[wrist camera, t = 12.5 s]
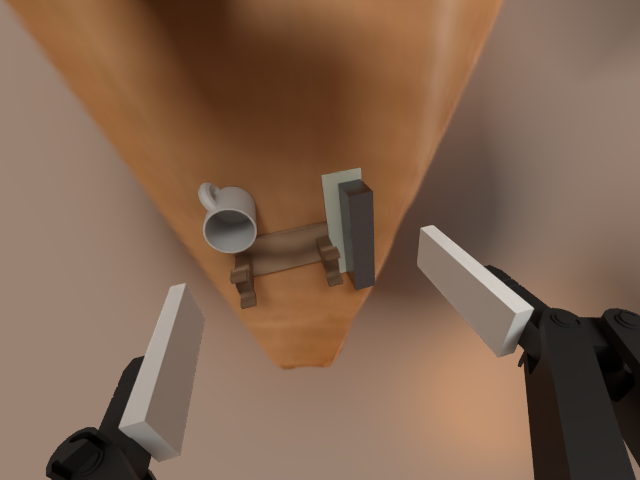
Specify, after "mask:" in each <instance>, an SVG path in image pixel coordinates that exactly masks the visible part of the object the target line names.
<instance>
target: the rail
mask: <svg viewBox="0 0 640 480" xmlns="http://www.w3.org/2000/svg"><path fill="white" fill-rule="evenodd" d="M338 190H339V200H340V211H341V221H342V231H343V242H344V252H345V262H346V272H347V274H348V276H349V278H350V280H351V282H352V284H353V286H354V288H355V290H358V289H362V288H366V287H370V286H374V285H375V268H374V221H373V191H372V190H371V189H370V188H369V187H368V186H367V185H366V184H365V183H364V182H362V181H361V180H360V179H357V180H352V181H347V182H343V183H338Z"/></svg>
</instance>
